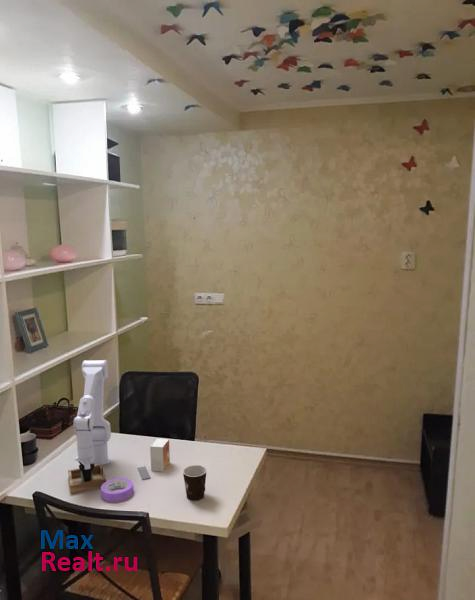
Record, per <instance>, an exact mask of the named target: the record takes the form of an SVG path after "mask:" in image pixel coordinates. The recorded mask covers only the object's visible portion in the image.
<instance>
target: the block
mask: <svg viewBox="0 0 475 600" xmlns="http://www.w3.org/2000/svg"><path fill="white" fill-rule="evenodd" d="M92 480H93V474H92V475H91V480H90V481H92ZM81 481H82V482H85V481H84V478H83V474H82V472H81Z"/></svg>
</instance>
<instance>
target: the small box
mask: <svg viewBox="0 0 475 600" xmlns="http://www.w3.org/2000/svg"><path fill="white" fill-rule="evenodd" d="M149 447H150V448H149V449H150V452H149V453H150V455H149V456H150V470H151V471H157V472H164V471H165V470H166V469H167V467H168V466H169V465H170V464H171V458H170V439H167V438H156V440H155V441H154V442H152V444H151V445H150V446H149Z"/></svg>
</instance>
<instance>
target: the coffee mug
mask: <svg viewBox="0 0 475 600" xmlns="http://www.w3.org/2000/svg"><path fill="white" fill-rule="evenodd" d="M182 475H183V482H184V487H185V494H186V498H187V500H189V501H191V502H198V501H201V500H203V499H204V498H205V491H206V479H207V468H206V467H205V466H203V465H199V464H193V465H188V466H186V467H185V468H184V469H183V470H182Z"/></svg>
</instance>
